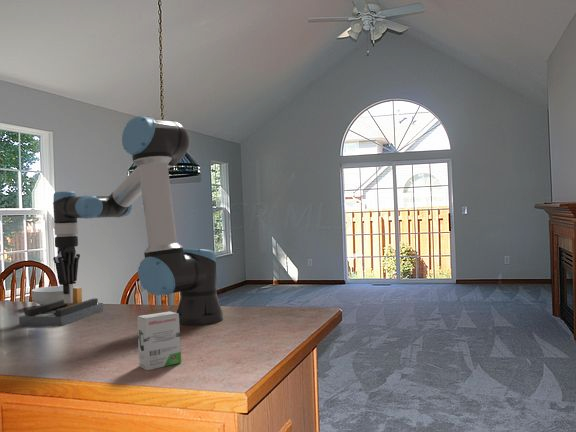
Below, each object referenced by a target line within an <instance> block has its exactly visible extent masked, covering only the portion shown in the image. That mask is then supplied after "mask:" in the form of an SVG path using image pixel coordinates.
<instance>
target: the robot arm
mask: <svg viewBox="0 0 576 432" xmlns="http://www.w3.org/2000/svg"><path fill="white" fill-rule="evenodd" d="M121 136H122V137H121V143H122V147H123V150H124V151H125V152H126V153H128V154H129V155H131V156H132V163H133V164H134V165H135V169H134V170H133V171H132V172H131V173H130V174H129V175H128V176H127V177H126V178H125V179H124V180H123V181H122V182H121V183H120V184H119V185H118V186H117V187H116V188H115V190H113V191H112V192H111V193H110V194H109V195H106V196H105V195H103V196H102V195H98V196H97V195H96V196H95V195H83V196H80V195H79V196H77V193H76V191H71V190H70V191H69V190H68V191H65V190H64V191H63V190H62V191H55V192H54V193H53V202H52V205H53V222H54V225H53V226H54V236H55V237H54V247H55V248H57V249H58V250H57V255H56V256H53V258H52V260H53V262H54V265H55V271H56V275H57V280H58V284H59V286H63V293H64V303H73V286H74V284H76V283H77V281H78V269H79V260H80V257H81V255H80V253H77V252H76V251H77V250H76V247H78V245H79V237H78V236H77V235H78V233H79V232H78V219H86V220H87V219H96V218H97V219H98V218H123V217H127V216H129V215H130V214H131V212H132V209H133V203H134V202H135V201H136V200H137V199H138V198H139V197H140V196H142V204H143V213H144V218H145V229H146V235H147V243H148V246H147V247H146V249H145V250H144V252H143V253H144V254H143V256H144V259H141V261H140V262H139V266H138V267H137V275H138V280H139V283H140V285H141V287H142V288H143V289H144V290H146V292H147V293H148V294H150V295H153V296H155V297H158V296H170V295H171V294H176V293H179V295H180V296H179V301H178V305H177V308H176V311H175V313H178V314H179V324H180V325H185V326H186V325H187V326H188V325H190V326H195V325H199V326H200V325H209V324H214V323H218V322H221V321H223V320H224V313H223V309H222V306H221V303H220V300H219V298H218V294H217V293H218V292H217V291H218V289H217V287H218V286H217V261H216V253H215V251H214V250H211V249H201V248H200V249H199V248H184V246H183V245H181V244H179V242H178V238H177V229H176V221H175V214H174V207H173V206H174V205H173V198H172V191H171V190H172V189H171V182H170V181H171V180H170V173H169V168H170V167H175V166H177V164H179V163H180V162H181V160H183V158H184V157H185V156H186V154H187V151H188V149H189V147H190V136H189V133H188V131H187V129H186V128H185V127H184V126H183V125H182V123H179V122H177V121H175V120H171V119H164V118H157V117H152V116H149V115H146V116H145V115H137V116H134V117H132V118H131V119H129V120H128V121H127V123H126V125H125V127H124V128H123V131H122V135H121Z"/></svg>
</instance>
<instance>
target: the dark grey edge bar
mask: <svg viewBox="0 0 576 432" xmlns="http://www.w3.org/2000/svg"><path fill="white" fill-rule="evenodd" d="M64 304H67V303H64V299H62V300H59V301H55V302H52V303H48V304H45V305H39V306H35V307H32V308H27V309H25V310H24V315H28V316H31V315H34V314H37V313H38V312H41V311H44V310H48V309H51V308H54V307H58V306H61V305H64Z"/></svg>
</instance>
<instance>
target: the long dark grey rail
mask: <svg viewBox="0 0 576 432" xmlns="http://www.w3.org/2000/svg"><path fill="white" fill-rule="evenodd" d="M98 300H99V299H98V298H90V299H88V300H84V301H83V300H82V302H80V303H77V304H74V305H71V306H67V307H64V308H61V309H58V310H56V316H62V315H65V314H68V313H71V312H74V311H77V310H80V309H83V308H86V307H89V306H92V305H95V304H97V303H99V301H98Z"/></svg>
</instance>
